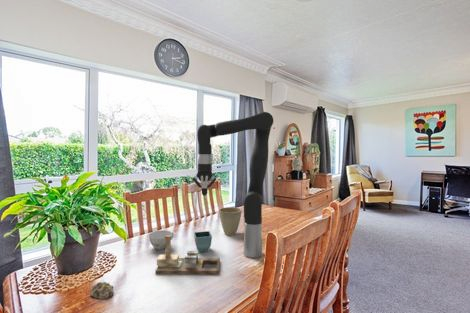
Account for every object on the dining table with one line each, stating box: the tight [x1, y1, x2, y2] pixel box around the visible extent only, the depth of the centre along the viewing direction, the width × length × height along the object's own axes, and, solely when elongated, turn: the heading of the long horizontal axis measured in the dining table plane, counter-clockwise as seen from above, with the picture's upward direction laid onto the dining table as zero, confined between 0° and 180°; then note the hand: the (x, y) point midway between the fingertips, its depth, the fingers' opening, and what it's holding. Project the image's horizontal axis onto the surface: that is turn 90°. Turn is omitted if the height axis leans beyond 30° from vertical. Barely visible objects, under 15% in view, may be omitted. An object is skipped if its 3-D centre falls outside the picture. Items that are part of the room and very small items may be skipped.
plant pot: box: [218, 206, 243, 237], centre depth 166 cm, size 15×15×16 cm
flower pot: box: [193, 230, 213, 253], centre depth 139 cm, size 9×9×9 cm
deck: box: [154, 250, 221, 275], centre depth 119 cm, size 28×13×6 cm, turn 91°
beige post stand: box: [156, 235, 180, 267], centre depth 119 cm, size 9×5×13 cm, turn 91°
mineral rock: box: [90, 281, 115, 300], centre depth 98 cm, size 11×4×8 cm
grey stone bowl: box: [148, 229, 174, 251], centre depth 143 cm, size 15×12×8 cm
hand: (204, 195), depth 135 cm, fingers closed
